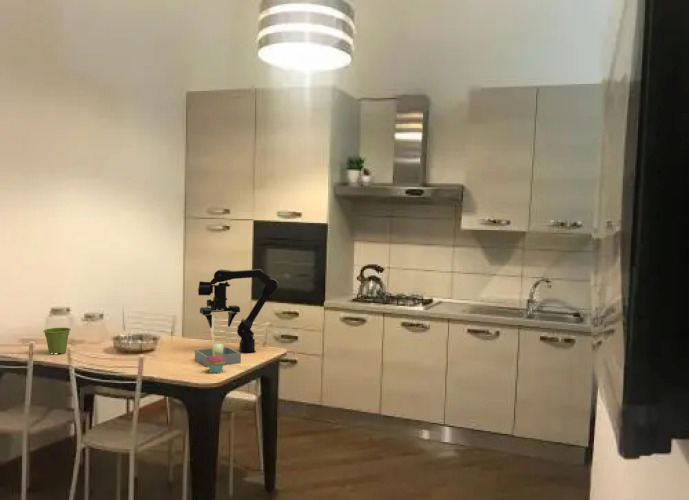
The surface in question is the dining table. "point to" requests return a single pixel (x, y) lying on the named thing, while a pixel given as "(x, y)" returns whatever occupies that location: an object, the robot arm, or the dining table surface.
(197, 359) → the serving tray
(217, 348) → the green cylinder
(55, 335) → the plant pot
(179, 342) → the dining table surface
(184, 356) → the dining table surface
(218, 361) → the cupcake
